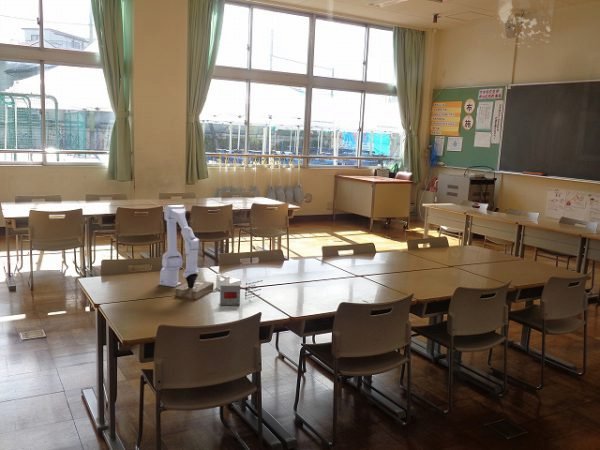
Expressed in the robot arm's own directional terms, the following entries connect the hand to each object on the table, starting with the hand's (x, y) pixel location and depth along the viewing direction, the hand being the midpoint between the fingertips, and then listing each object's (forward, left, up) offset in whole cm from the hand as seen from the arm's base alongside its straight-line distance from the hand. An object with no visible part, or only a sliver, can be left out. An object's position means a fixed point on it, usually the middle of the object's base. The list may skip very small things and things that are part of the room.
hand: (190, 287), depth 288 cm
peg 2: (0, +10, -4) cm, 11 cm away
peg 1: (0, 0, -4) cm, 4 cm away
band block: (0, +5, -4) cm, 6 cm away
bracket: (+11, +25, -4) cm, 27 cm away
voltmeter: (+27, +3, -4) cm, 27 cm away
